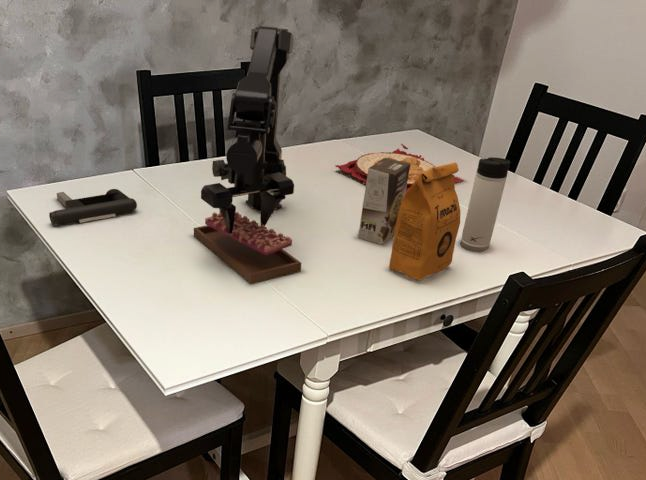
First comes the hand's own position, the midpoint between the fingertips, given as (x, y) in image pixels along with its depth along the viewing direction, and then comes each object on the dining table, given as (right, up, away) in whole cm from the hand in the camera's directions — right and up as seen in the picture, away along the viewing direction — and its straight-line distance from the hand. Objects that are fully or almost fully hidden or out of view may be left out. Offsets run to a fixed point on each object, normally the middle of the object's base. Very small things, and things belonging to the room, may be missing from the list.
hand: (246, 229), depth 153 cm
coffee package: (+36, -8, +1) cm, 37 cm away
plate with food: (+40, +22, +46) cm, 65 cm away
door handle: (-37, +7, +18) cm, 42 cm away
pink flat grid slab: (0, -1, +1) cm, 1 cm away
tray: (0, -5, +3) cm, 5 cm away
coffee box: (+30, +1, +14) cm, 33 cm away
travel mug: (+51, -2, +12) cm, 52 cm away
